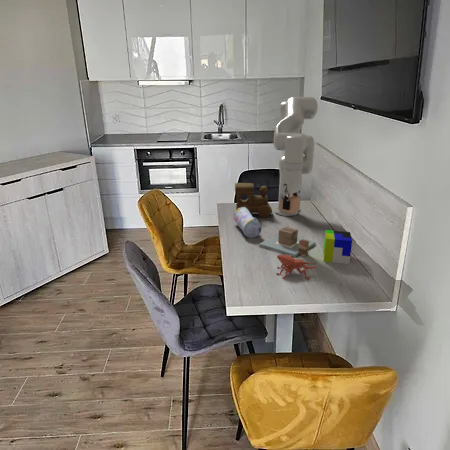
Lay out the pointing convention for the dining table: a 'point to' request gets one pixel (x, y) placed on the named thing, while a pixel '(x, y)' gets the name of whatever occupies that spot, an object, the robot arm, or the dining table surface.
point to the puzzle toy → (337, 246)
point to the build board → (283, 246)
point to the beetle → (292, 265)
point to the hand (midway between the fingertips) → (290, 207)
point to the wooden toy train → (253, 199)
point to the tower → (303, 247)
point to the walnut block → (288, 236)
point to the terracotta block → (292, 204)
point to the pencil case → (247, 222)
